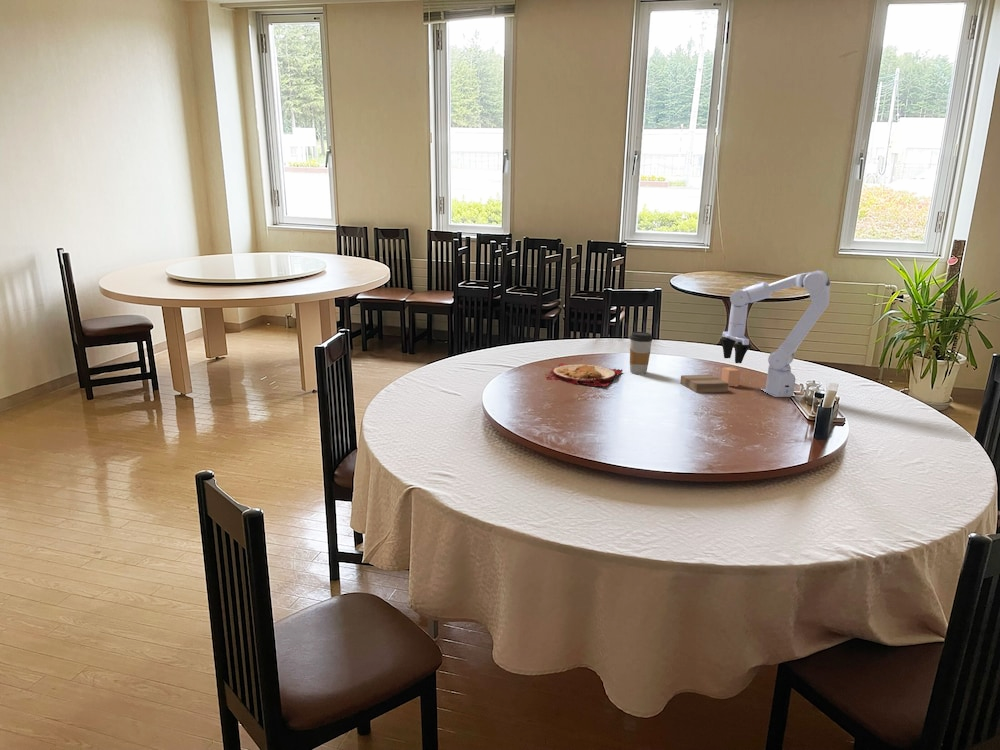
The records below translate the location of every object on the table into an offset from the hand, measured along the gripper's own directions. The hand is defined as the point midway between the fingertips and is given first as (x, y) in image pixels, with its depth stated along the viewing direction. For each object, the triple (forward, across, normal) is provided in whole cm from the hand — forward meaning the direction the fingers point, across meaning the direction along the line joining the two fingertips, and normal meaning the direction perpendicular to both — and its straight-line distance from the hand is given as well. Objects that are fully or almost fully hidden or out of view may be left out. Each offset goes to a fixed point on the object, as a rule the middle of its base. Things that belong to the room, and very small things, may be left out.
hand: (732, 360), depth 254 cm
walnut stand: (+9, +3, -12) cm, 15 cm away
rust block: (+9, 0, 0) cm, 9 cm away
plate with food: (+10, -16, -51) cm, 54 cm away
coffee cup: (+9, -20, -27) cm, 35 cm away
